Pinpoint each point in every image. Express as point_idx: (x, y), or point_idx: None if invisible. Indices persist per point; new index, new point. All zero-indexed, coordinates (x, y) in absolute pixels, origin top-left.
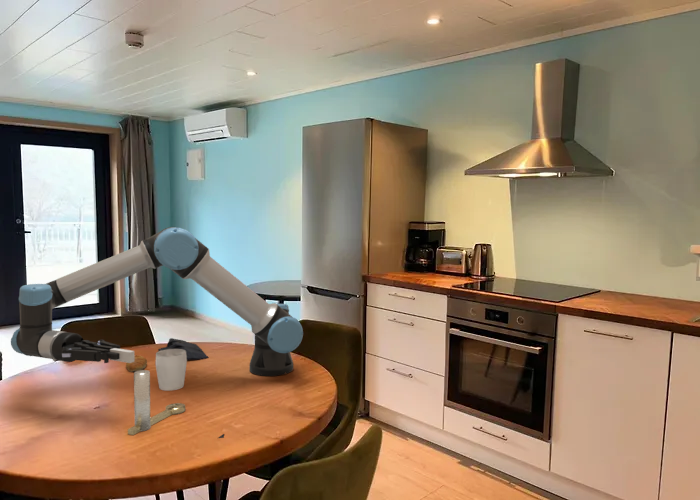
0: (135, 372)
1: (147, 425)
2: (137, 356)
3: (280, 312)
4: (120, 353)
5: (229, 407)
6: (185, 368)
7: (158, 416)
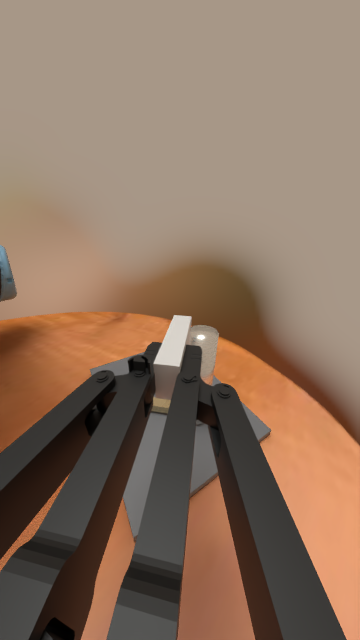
0: (208, 339)
1: None
2: None
3: None
4: (186, 342)
5: (91, 362)
6: None
7: (164, 399)
